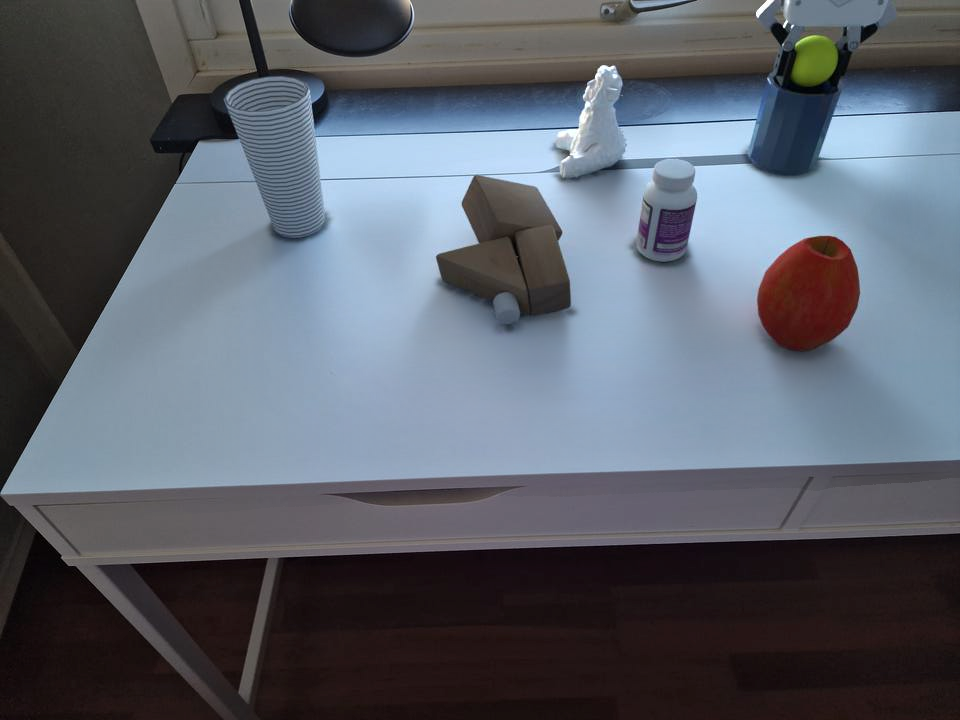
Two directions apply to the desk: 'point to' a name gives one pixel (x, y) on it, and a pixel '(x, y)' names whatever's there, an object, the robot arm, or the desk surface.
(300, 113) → the cup
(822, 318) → the apple
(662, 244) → the pill bottle
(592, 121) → the white creature statuette
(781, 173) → the tube
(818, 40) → the ball
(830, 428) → the desk surface
